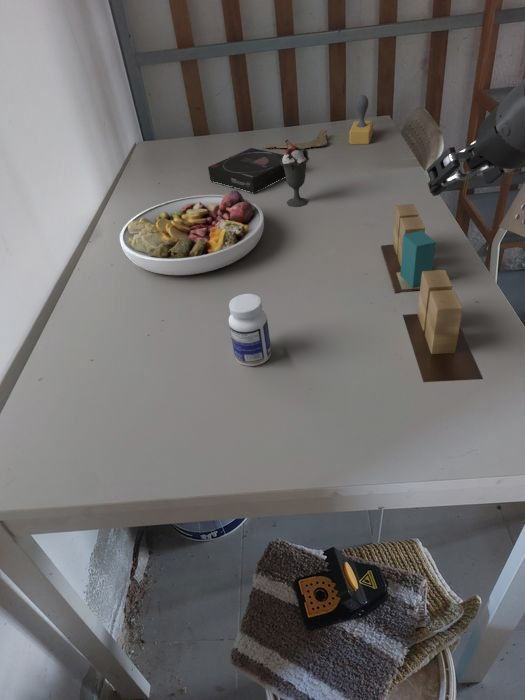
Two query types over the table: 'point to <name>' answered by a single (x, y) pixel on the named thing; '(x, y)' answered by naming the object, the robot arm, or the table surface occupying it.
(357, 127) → the rubber stamp
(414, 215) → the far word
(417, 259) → the teal upright block
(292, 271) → the table surface
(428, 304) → the near word
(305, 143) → the jawbone
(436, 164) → the robot arm
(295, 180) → the sundae
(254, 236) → the bowl
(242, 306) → the pill bottle
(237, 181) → the black pizza box
